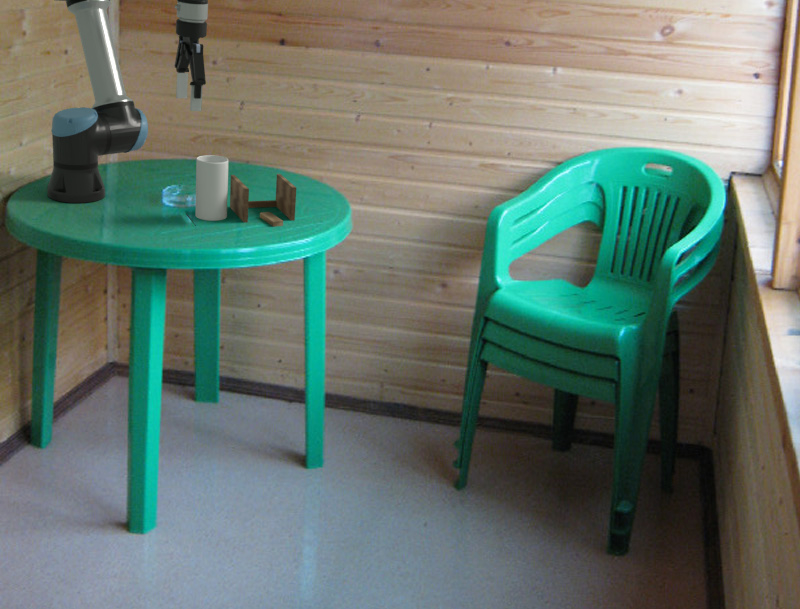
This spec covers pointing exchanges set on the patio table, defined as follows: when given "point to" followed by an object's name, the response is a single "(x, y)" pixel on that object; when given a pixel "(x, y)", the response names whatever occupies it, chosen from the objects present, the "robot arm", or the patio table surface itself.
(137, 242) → the patio table surface
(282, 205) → the rack
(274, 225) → the offcut slab upper
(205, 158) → the cup
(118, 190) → the patio table surface
